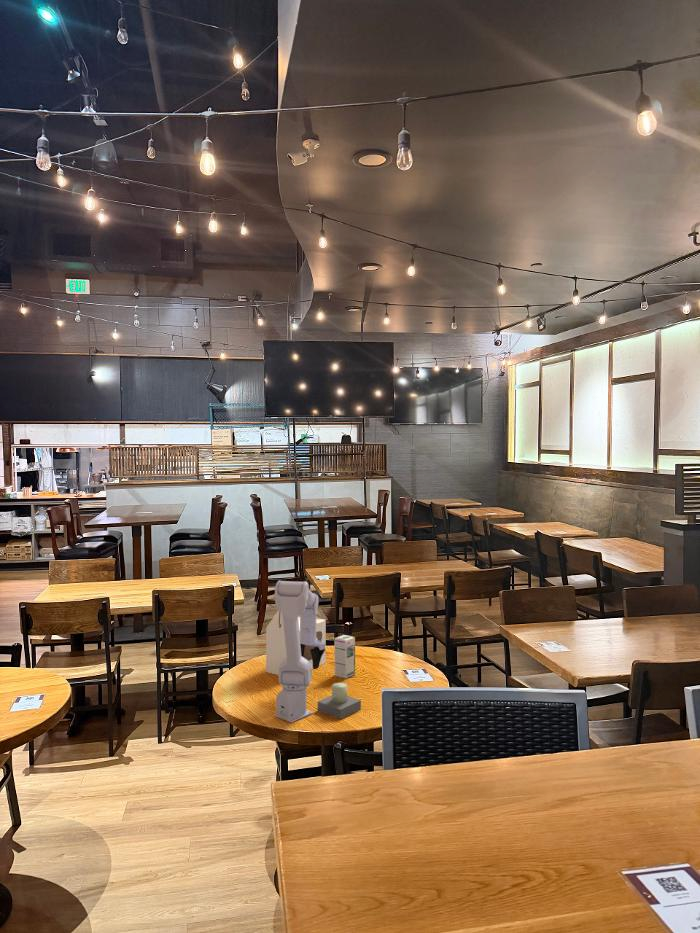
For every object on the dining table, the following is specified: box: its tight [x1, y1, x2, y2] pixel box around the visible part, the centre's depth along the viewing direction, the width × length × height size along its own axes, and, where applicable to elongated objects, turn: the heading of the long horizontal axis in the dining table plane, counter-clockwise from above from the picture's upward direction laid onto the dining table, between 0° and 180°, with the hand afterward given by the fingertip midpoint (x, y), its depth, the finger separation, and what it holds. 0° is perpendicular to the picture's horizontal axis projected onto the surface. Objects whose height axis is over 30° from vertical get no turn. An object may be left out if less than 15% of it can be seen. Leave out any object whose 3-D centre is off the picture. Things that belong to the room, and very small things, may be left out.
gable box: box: [265, 608, 327, 676], centre depth 242 cm, size 22×13×28 cm, turn 148°
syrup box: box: [333, 634, 356, 679], centre depth 234 cm, size 6×6×14 cm
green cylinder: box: [331, 682, 348, 704], centre depth 201 cm, size 5×5×5 cm
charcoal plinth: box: [317, 695, 362, 720], centre depth 201 cm, size 10×10×3 cm
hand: (308, 665), depth 216 cm, fingers open, 7 cm apart
